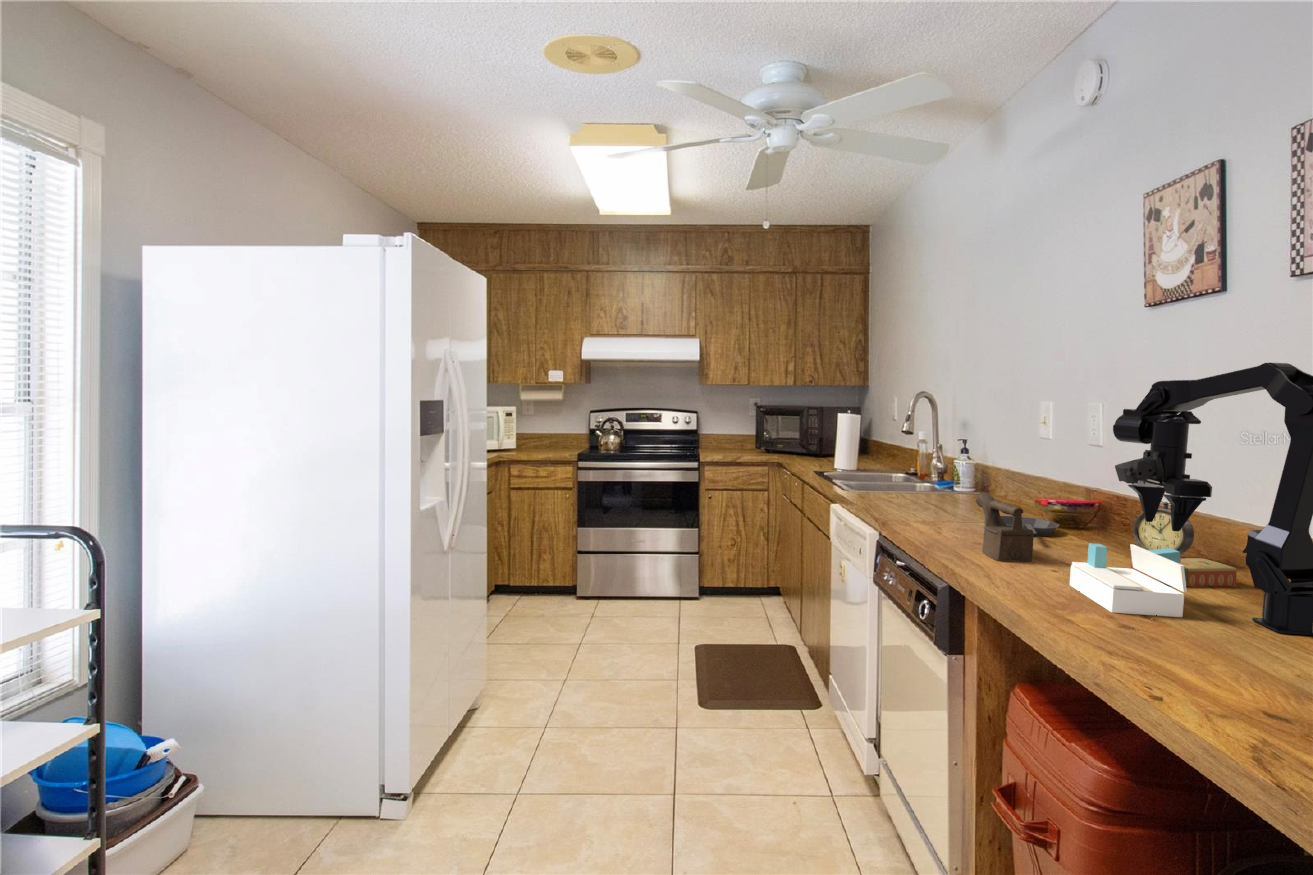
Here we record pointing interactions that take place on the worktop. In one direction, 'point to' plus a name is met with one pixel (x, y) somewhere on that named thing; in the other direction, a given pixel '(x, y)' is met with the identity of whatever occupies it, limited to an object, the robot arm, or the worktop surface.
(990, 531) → the clothes iron
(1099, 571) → the flap
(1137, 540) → the alarm clock
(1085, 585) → the carton box
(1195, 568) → the carton
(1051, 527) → the frying pan
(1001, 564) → the worktop surface
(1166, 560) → the flap
